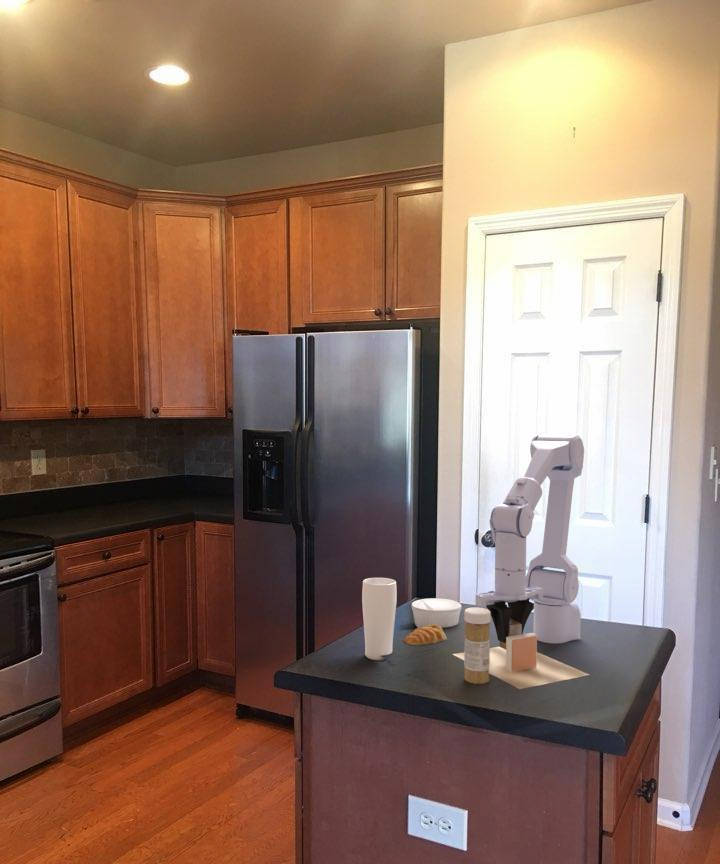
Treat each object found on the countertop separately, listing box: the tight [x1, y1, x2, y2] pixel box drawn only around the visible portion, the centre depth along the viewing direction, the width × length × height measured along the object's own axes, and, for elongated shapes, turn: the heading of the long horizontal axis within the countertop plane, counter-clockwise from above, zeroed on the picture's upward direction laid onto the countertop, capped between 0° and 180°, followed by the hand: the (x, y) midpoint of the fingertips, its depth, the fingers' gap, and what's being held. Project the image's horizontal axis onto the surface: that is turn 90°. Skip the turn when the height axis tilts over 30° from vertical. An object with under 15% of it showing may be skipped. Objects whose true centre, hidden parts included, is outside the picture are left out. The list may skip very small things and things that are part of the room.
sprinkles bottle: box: [463, 606, 492, 685], centre depth 125 cm, size 5×5×13 cm
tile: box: [506, 632, 538, 672], centre depth 130 cm, size 6×2×6 cm, turn 117°
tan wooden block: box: [498, 619, 522, 650], centre depth 133 cm, size 3×3×5 cm
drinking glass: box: [361, 577, 398, 661], centre depth 140 cm, size 7×7×15 cm
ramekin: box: [411, 597, 462, 629], centre depth 161 cm, size 11×11×5 cm
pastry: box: [403, 625, 448, 646], centre depth 148 cm, size 9×7×4 cm
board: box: [452, 646, 590, 690], centre depth 133 cm, size 16×20×1 cm
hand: (509, 640), depth 134 cm, fingers closed on tan wooden block, 3 cm apart
